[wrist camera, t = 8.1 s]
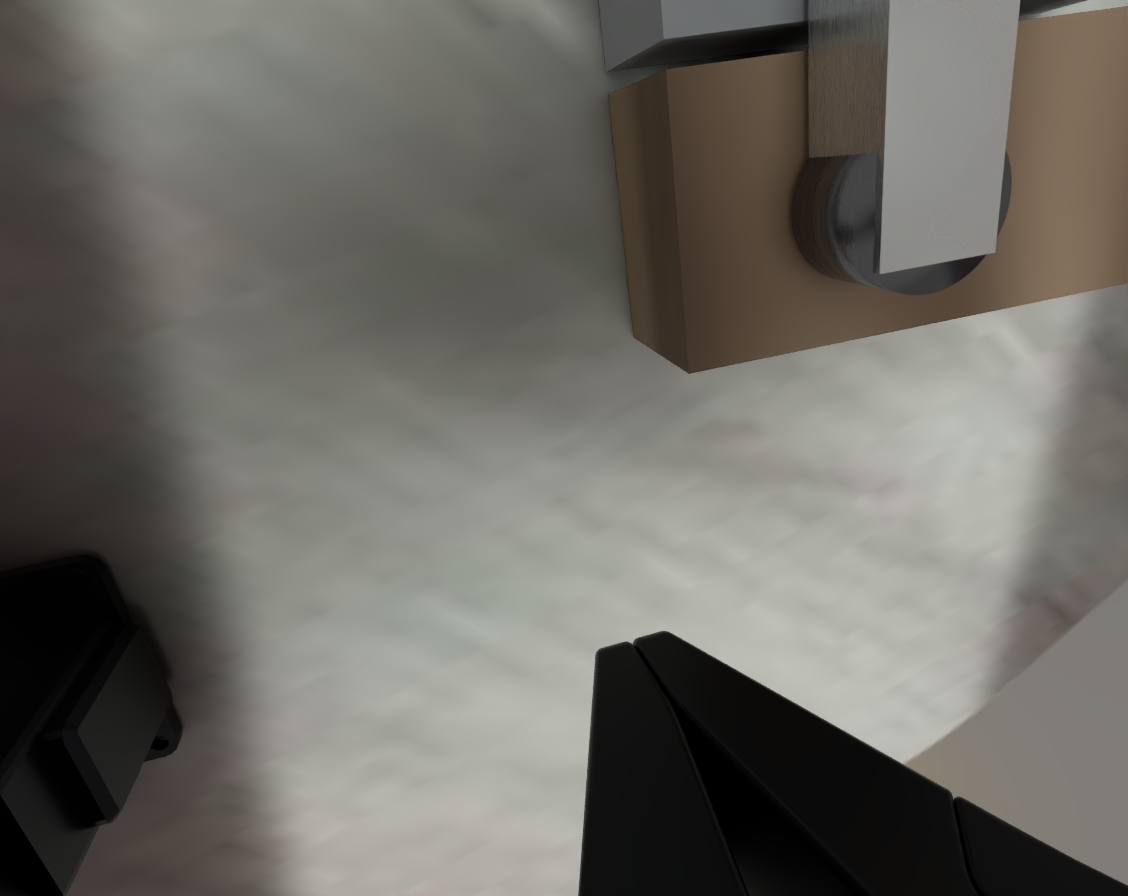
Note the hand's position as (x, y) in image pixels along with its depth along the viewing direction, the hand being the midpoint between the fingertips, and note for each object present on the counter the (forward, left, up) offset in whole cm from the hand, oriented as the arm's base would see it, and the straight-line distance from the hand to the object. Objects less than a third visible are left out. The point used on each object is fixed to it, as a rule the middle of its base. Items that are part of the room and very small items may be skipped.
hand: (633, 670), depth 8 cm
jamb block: (+10, +4, -12) cm, 16 cm away
